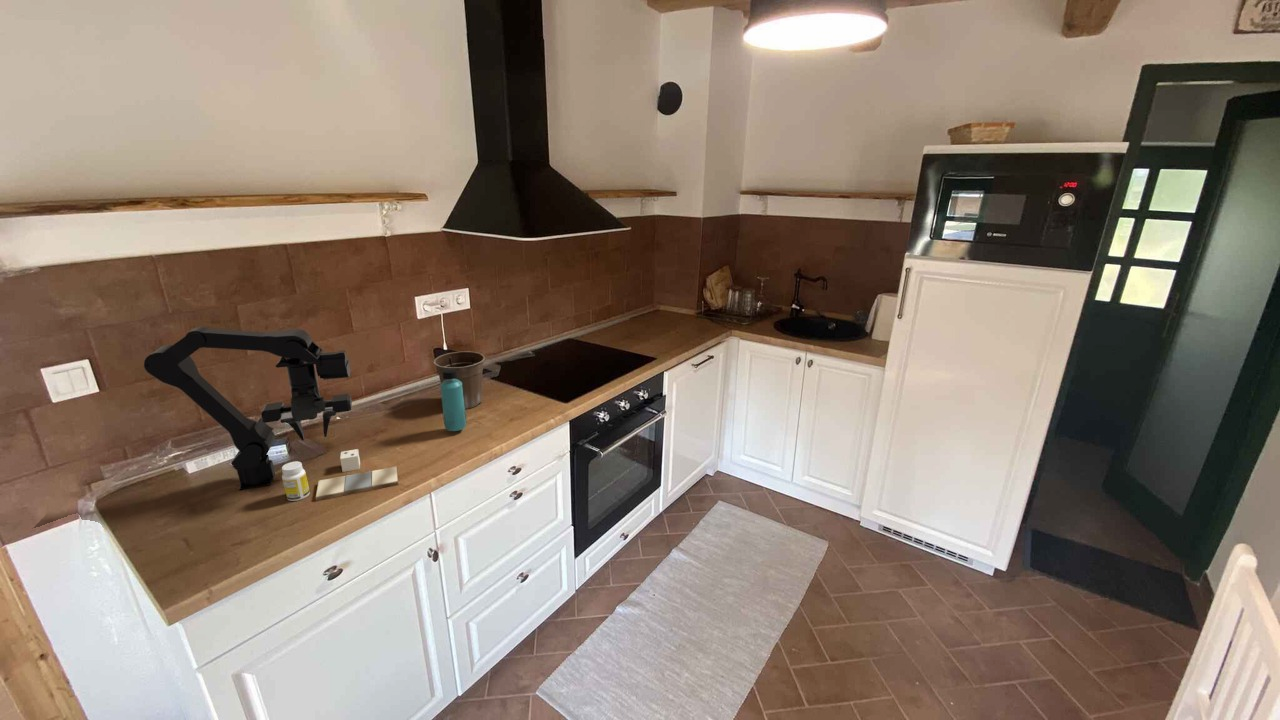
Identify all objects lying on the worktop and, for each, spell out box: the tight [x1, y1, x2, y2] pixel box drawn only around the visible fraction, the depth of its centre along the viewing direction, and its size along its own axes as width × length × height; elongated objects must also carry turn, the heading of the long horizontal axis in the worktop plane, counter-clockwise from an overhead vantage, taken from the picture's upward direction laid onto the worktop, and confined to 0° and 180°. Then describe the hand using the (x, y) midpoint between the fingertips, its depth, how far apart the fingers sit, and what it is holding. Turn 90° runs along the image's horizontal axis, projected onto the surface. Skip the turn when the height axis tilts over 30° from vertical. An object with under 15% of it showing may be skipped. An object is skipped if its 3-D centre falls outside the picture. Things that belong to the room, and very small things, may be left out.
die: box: [339, 448, 361, 473], centre depth 139 cm, size 4×4×4 cm
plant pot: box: [433, 350, 486, 410], centre depth 177 cm, size 16×16×16 cm
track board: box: [315, 466, 399, 502], centre depth 132 cm, size 18×8×1 cm, turn 116°
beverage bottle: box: [439, 369, 467, 432], centre depth 157 cm, size 6×7×20 cm
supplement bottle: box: [281, 460, 311, 502], centre depth 125 cm, size 5×5×8 cm
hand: (314, 437), depth 133 cm, fingers open, 5 cm apart
